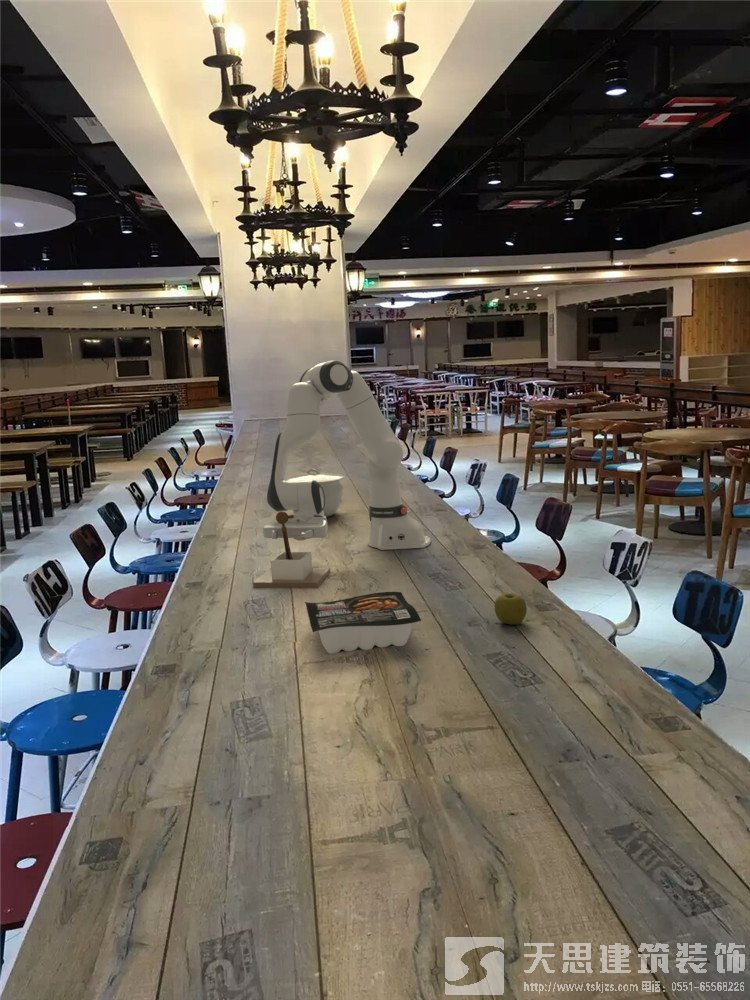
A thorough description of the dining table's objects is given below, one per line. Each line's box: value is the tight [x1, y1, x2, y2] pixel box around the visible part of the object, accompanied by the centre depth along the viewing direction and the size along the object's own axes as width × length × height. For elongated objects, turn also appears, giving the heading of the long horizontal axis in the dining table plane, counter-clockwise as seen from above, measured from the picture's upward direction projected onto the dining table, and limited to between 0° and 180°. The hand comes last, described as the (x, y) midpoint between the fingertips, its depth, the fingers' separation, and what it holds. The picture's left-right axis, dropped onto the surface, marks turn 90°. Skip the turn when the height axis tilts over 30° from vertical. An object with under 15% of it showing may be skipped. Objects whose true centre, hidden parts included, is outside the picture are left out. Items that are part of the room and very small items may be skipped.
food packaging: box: [304, 591, 422, 655], centre depth 188 cm, size 25×8×23 cm
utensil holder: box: [252, 551, 331, 589], centre depth 239 cm, size 20×16×8 cm
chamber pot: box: [285, 467, 346, 518], centre depth 333 cm, size 28×28×21 cm
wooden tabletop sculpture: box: [275, 511, 294, 560], centre depth 238 cm, size 6×5×20 cm
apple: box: [494, 593, 528, 626], centre depth 192 cm, size 8×8×7 cm
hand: (288, 536), depth 236 cm, fingers open, 8 cm apart
